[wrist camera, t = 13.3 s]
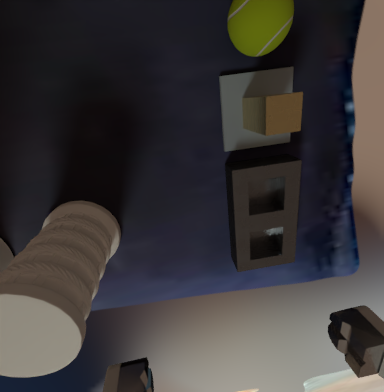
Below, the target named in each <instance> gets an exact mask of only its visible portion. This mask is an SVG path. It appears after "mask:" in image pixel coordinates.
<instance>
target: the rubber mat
mask: <svg viewBox="0 0 384 392" xmlns="http://www.w3.org/2000/svg"><path fill="white" fill-rule="evenodd" d="M219 83H220V98H221V112H222V127H223V142H224V151H225V152H226V151H233V150H240V149H246V148H253V147H260V146H266V145H273V144H280V143H286V142H290V132H289V133H282V134H275V135H269V136H265V135H262V134H259V133H256V132H253V131H250V130H247V129H243V110H242V98H248V97H255V96H263V95H270V94H282V93H292V88H293V67H286V68H279V69H271V70H264V71H256V72H249V73H241V74H233V75H226V76H220V77H219Z"/></svg>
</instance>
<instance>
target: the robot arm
mask: <svg viewBox="0 0 384 392" xmlns="http://www.w3.org/2000/svg"><path fill="white" fill-rule="evenodd" d="M13 259H14V256H13V254H12V252H11V250H10V248H9V247H8V246H7V244H6V243H5V242H4V241H3V240H2V239H1V238H0V272H2V271H3V270H5V269H7V267H8V265H9V264H10V263H11V260H13ZM330 320H331V321H332V322H331V323H330V325H329V326H328V334H329V337H330V339H331V341H332V343H333V344H334V346H335V347H336V349H337V350H339V351H340V352H342V353H344V354H345V361H346V362H347V363H348V364H349V366H350V367H351V369H352V370H353V371H354V373H355V374H356V375H357V377H358V378H360V377H364V376H369V375H373V374H377V373H379V374H378V375H379V376H381V377H382V378H384V322H383V321H382V320H381V319H380V318H379V317H378V316H377V315H376V314H375V313H374V312H373V311H372V310H370V309H369V308H368V307H367V306H358V307H354V308H349V309H345V310H341V311H337V312H334V313H331V314H330ZM148 365H149V362H148V360H147V357H146V358H141V359H137V360H133V361H128V362H124V363H119V364H115V365H111V366H109V367H108V370H107V373H106V378H105V383H104V388H103V392H154V386H153V376H152V371H151V369H150V368H148Z"/></svg>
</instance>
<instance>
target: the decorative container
mask: <svg viewBox="0 0 384 392" xmlns="http://www.w3.org/2000/svg"><path fill="white" fill-rule="evenodd" d="M120 238H121V231H120V226H119V224H118V222H117V220H116V218H115V217H114V216H113V215H112V214H111V213H110V212H109V211H108V210H107V209H105V208H104V207H102V206H100V205H98V204H95V203H93V202H88V201H70V202H67V203H64V204H62V205H60V206H58V207H57V208H55V209H54V210H53V211H52V212H51V213H50V214H49V215H48V217H47V218H46V219H45V221H44V224H43V227H42V230H41V231H40V233H39V234H38V236H35V237H34V238H33V239H32V240H31V241H30V243H28V244H27V247H26V248H25V249H24V250H23V251H22V252H20V253H18V255H17V256H15V257H14V259H13V260H11V263H10V264H9V265H8V267H7V269H5V270H3V271H2V272H0V375H3V376H10V377H34V376H41V375H46V374H49V373H52V372H56V371H58V370H59V369H61V368H63V367H65V366H67V365H68V364H69V363H70V362H71V361H72V360H73V359H75V358H76V356H77V354H78V352H79V350H80V348H81V346H82V343H83V340H84V337H85V332H86V323H85V320H86V319H87V317H88V316H89V313H90V310H91V301H92V299H93V298H94V297H95V295H96V293H97V291H98V288H99V281H100V279H101V278H102V276H103V274H104V271H105V267H106V263H107V262H108V260H109V259H110V258H111V257H112V256H113V255H114V253H115V252H116V250H117V248H118V246H119V243H120Z"/></svg>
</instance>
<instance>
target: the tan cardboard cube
mask: <svg viewBox="0 0 384 392" xmlns="http://www.w3.org/2000/svg"><path fill="white" fill-rule="evenodd" d="M302 99H303V92H295V93H282V94H270V95H263V96H255V97H248V98H242V110H243V129H247V130H250V131H253V132H256V133H259V134H262V135H265V136H269V135H275V134H282V133H289V132H296V131H300V130H301V115H302Z"/></svg>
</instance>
